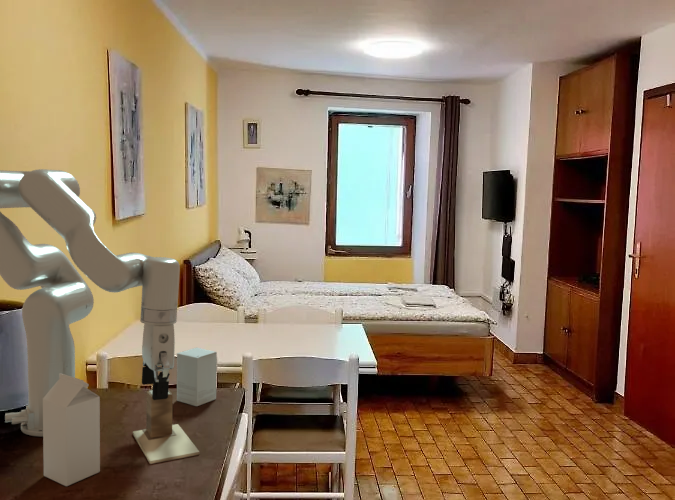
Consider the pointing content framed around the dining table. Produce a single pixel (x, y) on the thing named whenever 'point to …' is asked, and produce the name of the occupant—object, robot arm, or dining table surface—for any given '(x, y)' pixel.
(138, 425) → the dining table surface
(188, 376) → the supplement box
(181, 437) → the board
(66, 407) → the milk carton
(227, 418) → the dining table surface
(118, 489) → the dining table surface
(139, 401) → the dining table surface
